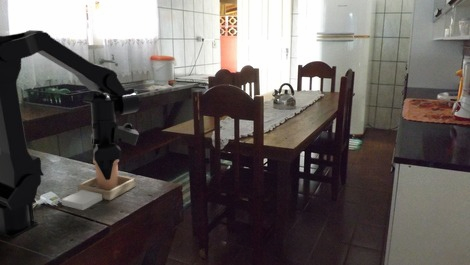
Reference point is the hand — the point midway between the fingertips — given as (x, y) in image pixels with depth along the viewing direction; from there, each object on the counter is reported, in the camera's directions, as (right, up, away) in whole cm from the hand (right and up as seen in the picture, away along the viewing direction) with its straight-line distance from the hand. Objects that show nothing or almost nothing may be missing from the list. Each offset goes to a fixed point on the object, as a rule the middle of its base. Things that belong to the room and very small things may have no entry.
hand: (107, 175), depth 99 cm
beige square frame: (0, -4, +1) cm, 4 cm away
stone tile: (-4, -6, -7) cm, 10 cm away
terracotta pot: (0, -3, +1) cm, 3 cm away
